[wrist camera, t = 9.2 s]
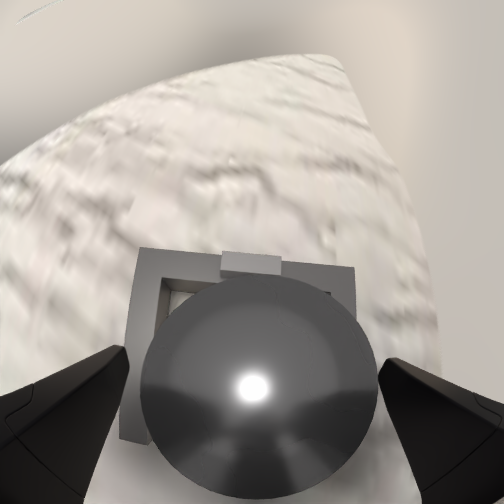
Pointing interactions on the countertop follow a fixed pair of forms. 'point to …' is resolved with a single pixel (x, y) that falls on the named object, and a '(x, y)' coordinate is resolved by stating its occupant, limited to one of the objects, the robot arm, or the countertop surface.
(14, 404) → the robot arm
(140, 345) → the u-shaped bracket
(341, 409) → the dark grey flanged cylinder
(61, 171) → the countertop surface
